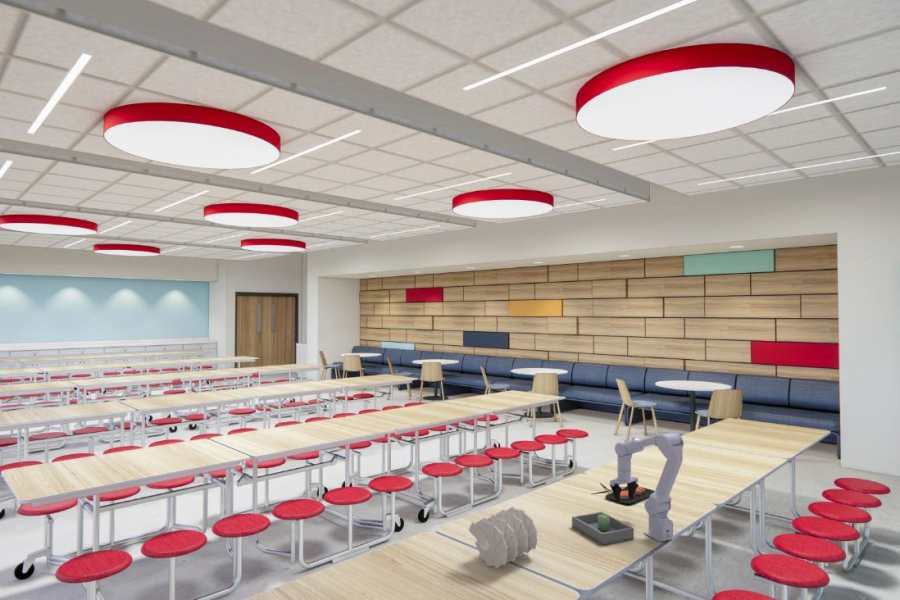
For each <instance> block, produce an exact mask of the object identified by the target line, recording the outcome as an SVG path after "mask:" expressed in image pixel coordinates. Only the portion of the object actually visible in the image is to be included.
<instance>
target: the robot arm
mask: <svg viewBox="0 0 900 600" xmlns="http://www.w3.org/2000/svg"><path fill="white" fill-rule="evenodd" d="M653 445H654V446H655V447H657V448H658V450H659V451H660V452H661V454H662V455H663V456H664V458H665V459H666V462H665V465H664V466H663V469H662V472H661V475H660V477H659V480H658V483H657V485H656V488H655V490H654V491H655V492H654V493H652V494H651V495H650V496H649V497H648V498H647V499H646V500H645V501H644V509H645V511H646V513H647V515H648V530H647V531H643V534H645V535H647V536H648V537H650V538H652V539H654V540H656V541H658V540H659V541H658V542H660V543H661V541H663V542H666V540H667V541H671V540H675V538H676V537H674V523H673V521H672V520H671V519H670V518H669V517H668V515H669V512H670V511H671V508H672V500H673V498H672V497H671V496H670V494H671V491H672V490H673V487H674V484H675V482H676V480H677V476H678V475H679V474H678V473H679V472H680V469H681V467H682V464H683V459H684V458H683V457H684V456H683V448H684V445H685V442H684V440H683V438H682V435H680V433H678V432H671V433H660V434H654V435H651V436H648V437H644V438H643V439H642V438H640V437H637V436H635V437H631V439H628V440H627V439H626V440H624V442H617V443H616V444H615V445H614V452H615V454H616V455H617V477H616V478H614V479H610V480H609V486H610V488H611V489H610V490H612V491H611V492H613V493H614V497H615V502H617V501H618V502H617V503H621V502H620V492H621V489H623V488H622V487H623V486H622V487H621V486H620V485H625V484H626V487H628V497H629V499H632V500H633V497H634V494H635V491H636V489H637V487H638V486H639V484H638V483H639V477H636V476H632V461H631V460H632V458H633V454H637V453H640V452H643V451H644V450H645V448H646V447H649V446H653Z"/></svg>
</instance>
